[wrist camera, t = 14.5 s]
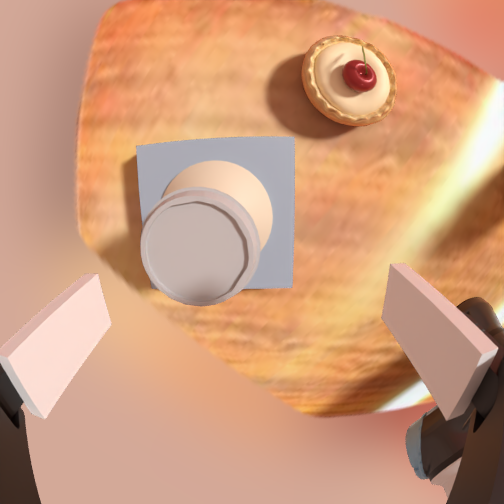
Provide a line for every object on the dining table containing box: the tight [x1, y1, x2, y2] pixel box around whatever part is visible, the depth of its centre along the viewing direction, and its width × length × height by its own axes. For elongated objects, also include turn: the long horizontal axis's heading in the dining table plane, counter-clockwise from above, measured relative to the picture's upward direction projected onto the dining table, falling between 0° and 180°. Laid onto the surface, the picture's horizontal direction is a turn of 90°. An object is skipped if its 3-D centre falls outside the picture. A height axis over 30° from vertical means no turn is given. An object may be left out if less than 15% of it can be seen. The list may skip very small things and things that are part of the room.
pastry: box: [301, 36, 397, 126], centre depth 26 cm, size 12×12×9 cm
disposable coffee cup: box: [140, 187, 260, 306], centre depth 26 cm, size 10×10×12 cm
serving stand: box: [136, 137, 295, 289], centre depth 34 cm, size 18×18×4 cm
